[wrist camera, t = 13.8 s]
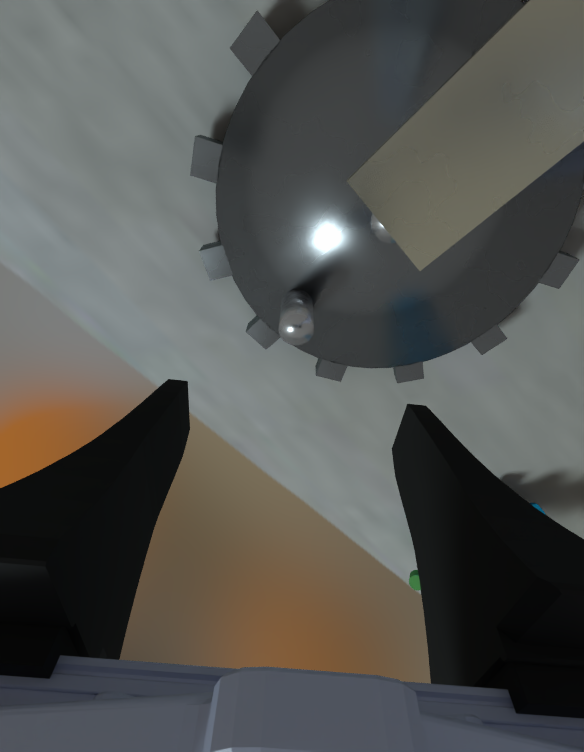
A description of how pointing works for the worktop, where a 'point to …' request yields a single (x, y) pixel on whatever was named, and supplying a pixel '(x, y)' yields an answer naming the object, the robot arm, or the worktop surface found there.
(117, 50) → the worktop surface
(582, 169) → the sprocket
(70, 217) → the worktop surface
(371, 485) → the worktop surface
